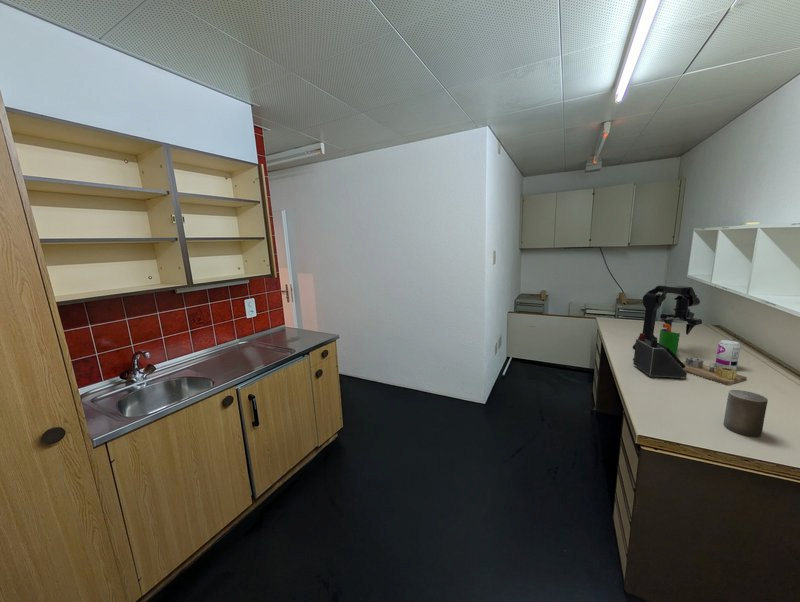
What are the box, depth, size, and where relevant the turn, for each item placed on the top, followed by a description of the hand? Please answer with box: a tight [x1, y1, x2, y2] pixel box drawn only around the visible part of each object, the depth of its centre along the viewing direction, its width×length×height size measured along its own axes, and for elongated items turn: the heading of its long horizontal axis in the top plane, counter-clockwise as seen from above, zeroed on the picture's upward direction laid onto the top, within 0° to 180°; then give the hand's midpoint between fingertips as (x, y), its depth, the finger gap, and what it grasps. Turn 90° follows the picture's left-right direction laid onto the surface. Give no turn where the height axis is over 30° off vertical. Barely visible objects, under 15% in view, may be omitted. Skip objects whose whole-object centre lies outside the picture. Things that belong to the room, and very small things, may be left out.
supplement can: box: [714, 339, 741, 371], centre depth 166 cm, size 8×8×15 cm
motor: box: [658, 323, 681, 356], centre depth 186 cm, size 10×9×20 cm
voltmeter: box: [632, 332, 688, 380], centre depth 163 cm, size 16×16×20 cm
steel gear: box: [685, 356, 704, 369], centre depth 167 cm, size 7×7×4 cm
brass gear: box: [716, 367, 738, 380], centre depth 153 cm, size 7×7×4 cm
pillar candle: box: [723, 389, 768, 438], centre depth 113 cm, size 10×10×15 cm
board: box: [681, 357, 748, 386], centre depth 161 cm, size 16×24×6 cm, turn 20°
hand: (678, 332), depth 185 cm, fingers open, 9 cm apart
